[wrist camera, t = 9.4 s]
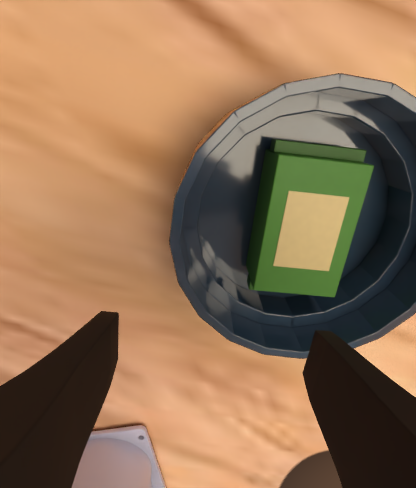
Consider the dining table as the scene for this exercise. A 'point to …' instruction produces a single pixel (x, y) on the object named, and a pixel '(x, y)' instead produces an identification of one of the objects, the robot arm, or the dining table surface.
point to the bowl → (244, 204)
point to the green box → (305, 217)
